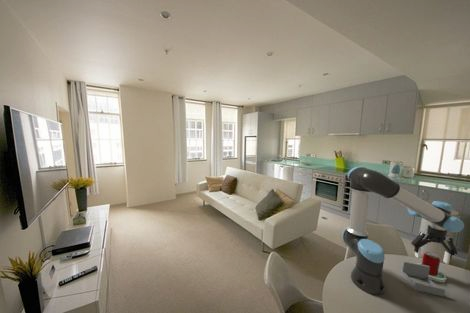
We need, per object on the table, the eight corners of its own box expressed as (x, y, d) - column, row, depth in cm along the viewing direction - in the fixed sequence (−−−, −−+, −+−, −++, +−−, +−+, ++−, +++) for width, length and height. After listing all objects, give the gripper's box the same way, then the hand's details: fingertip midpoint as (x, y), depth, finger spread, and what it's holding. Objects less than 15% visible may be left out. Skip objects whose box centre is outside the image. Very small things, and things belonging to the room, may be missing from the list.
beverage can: (440, 277, 102) (444, 259, 100) (427, 275, 103) (430, 257, 101) (430, 269, 108) (433, 251, 107) (417, 267, 109) (420, 250, 108)
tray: (423, 278, 101) (424, 276, 101) (409, 263, 114) (409, 260, 113) (452, 285, 97) (453, 282, 97) (434, 268, 110) (435, 265, 109)
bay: (415, 289, 94) (417, 276, 93) (401, 272, 106) (403, 260, 105) (444, 296, 90) (446, 283, 89) (426, 278, 102) (428, 265, 101)
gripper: (415, 226, 102) (409, 258, 105) (472, 235, 94) (464, 270, 97) (407, 220, 109) (401, 250, 112) (459, 228, 101) (452, 260, 104)
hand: (431, 259), depth 104 cm, fingers open, 13 cm apart
